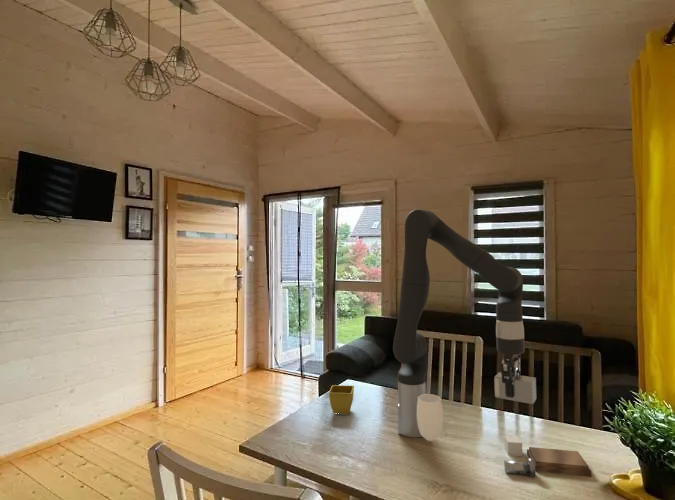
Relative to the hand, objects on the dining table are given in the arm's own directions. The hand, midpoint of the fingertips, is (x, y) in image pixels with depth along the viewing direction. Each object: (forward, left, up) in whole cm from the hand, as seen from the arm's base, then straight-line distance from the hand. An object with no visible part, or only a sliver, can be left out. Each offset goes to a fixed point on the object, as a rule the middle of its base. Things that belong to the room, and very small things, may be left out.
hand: (512, 393), depth 113 cm
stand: (+11, 0, -19) cm, 23 cm away
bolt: (-1, -7, -19) cm, 21 cm away
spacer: (+1, +5, -19) cm, 20 cm away
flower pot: (-57, +24, -20) cm, 64 cm away
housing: (+1, 0, -1) cm, 1 cm away
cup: (-24, -11, -20) cm, 33 cm away
